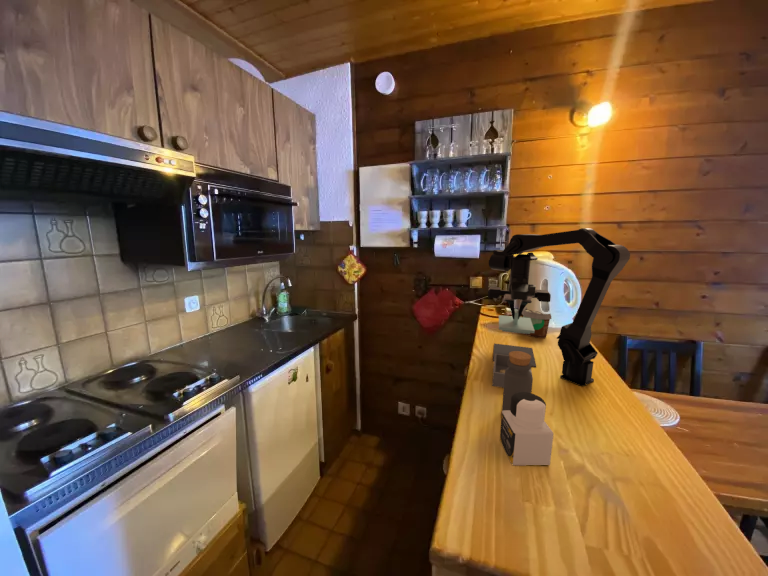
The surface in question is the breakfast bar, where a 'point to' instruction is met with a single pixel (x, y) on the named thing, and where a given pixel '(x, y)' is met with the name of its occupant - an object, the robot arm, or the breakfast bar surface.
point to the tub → (501, 370)
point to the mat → (508, 348)
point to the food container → (537, 322)
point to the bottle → (516, 376)
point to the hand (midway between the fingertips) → (515, 319)
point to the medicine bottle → (526, 431)
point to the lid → (516, 324)
